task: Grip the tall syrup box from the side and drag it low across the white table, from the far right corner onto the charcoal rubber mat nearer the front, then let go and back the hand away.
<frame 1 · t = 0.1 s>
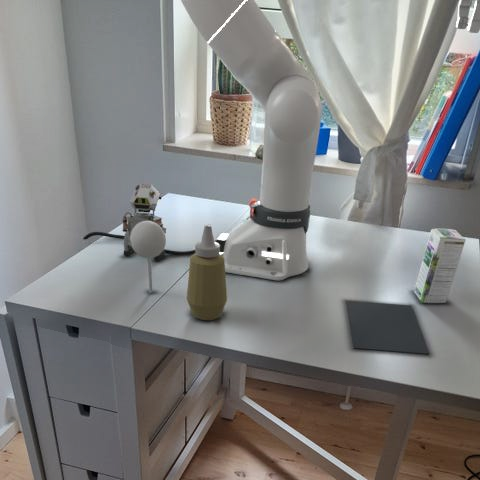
hand: (466, 30, 105), 48 cm above the table, tool pointing down, fingers open, 8 cm apart
lollipop: (150, 293, 121), on the table
plant with pod: (266, 222, 160), on the table
mat: (384, 326, 114), on the table
squeeze bottle: (206, 315, 115), on the table
syrup box: (429, 298, 126), on the table
figurine: (147, 254, 138), on the table
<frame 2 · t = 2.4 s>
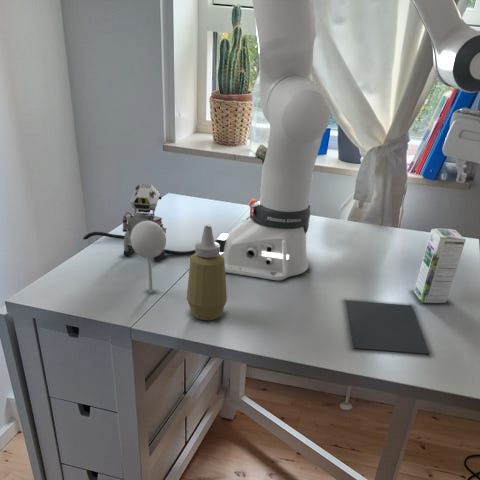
nothing on the table moved.
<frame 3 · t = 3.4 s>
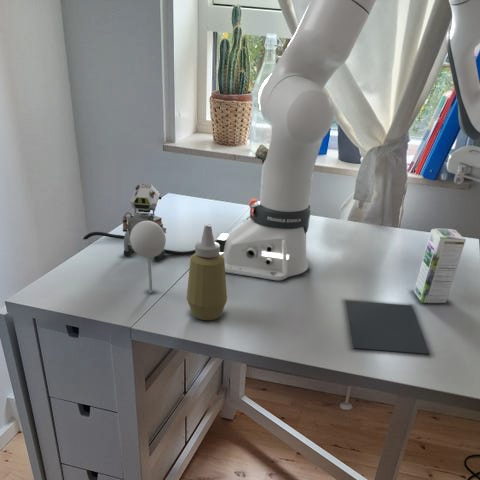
hand: (477, 186, 119), 22 cm above the table, tool horizontal, fingers open, 8 cm apart
nothing on the table moved.
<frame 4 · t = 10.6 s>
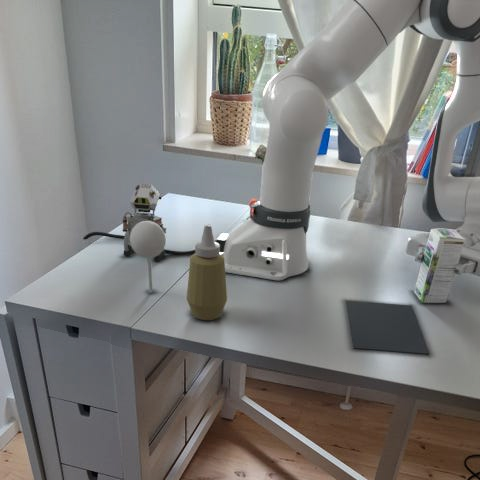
hand: (438, 264, 120), 8 cm above the table, tool horizontal, fingers closed on syrup box, 7 cm apart
syrup box: (429, 298, 126), on the table, touching gripper
everything else where it was.
when the fingers open (8 cm above the table, at t = 17.2 s): syrup box stays where it is, resting on mat.
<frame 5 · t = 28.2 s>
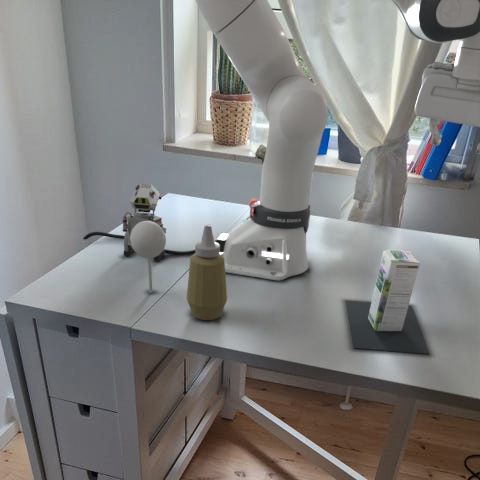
hand: (457, 149, 112), 29 cm above the table, tool pointing down, fingers open, 8 cm apart
syrup box: (384, 325, 114), resting on mat
everything else where it was.
at the end: syrup box inside the target area on the mat (0.1 cm from its centre), point 0.0 cm above the mat's base; syrup box tilted 0°; the gripper is holding nothing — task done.
